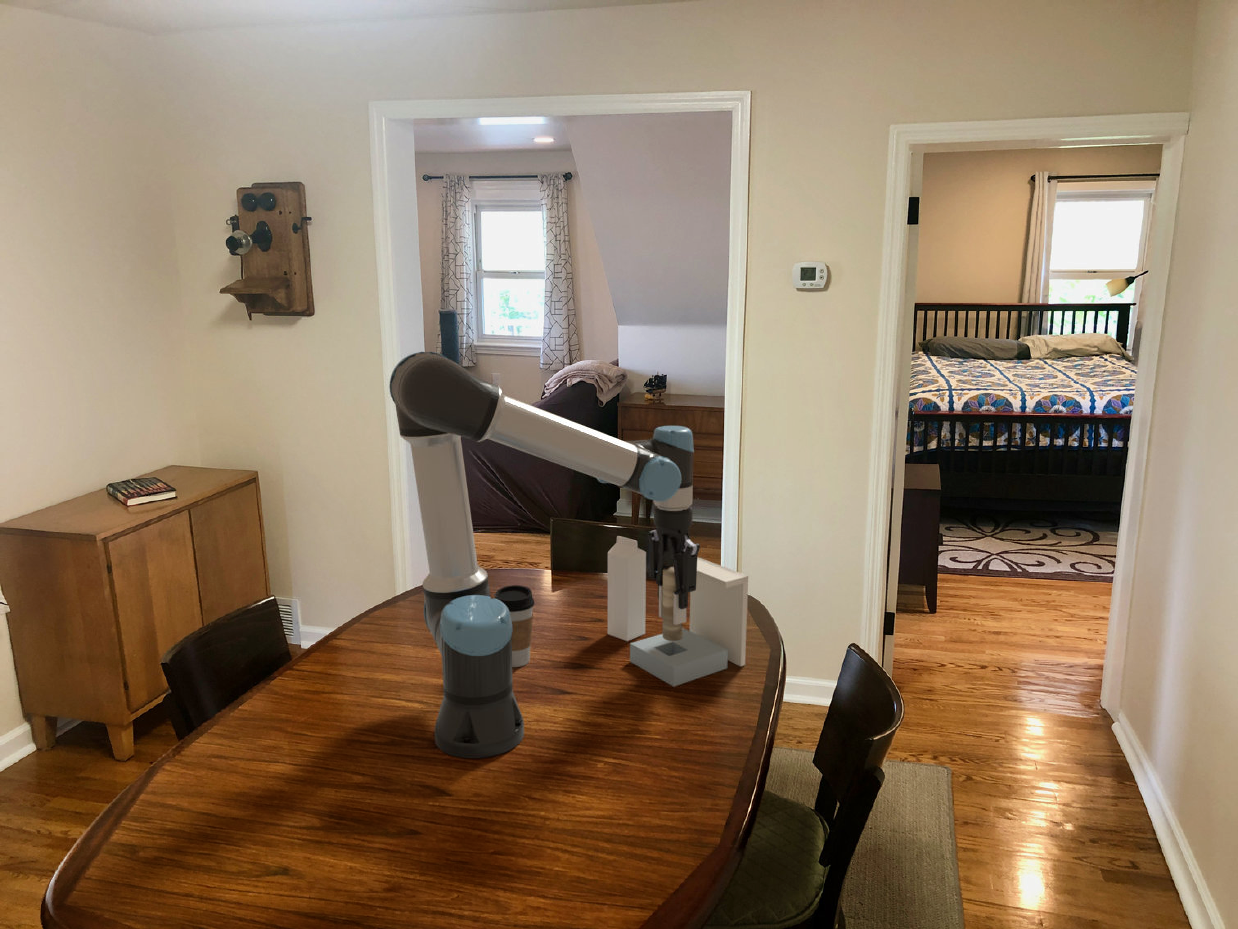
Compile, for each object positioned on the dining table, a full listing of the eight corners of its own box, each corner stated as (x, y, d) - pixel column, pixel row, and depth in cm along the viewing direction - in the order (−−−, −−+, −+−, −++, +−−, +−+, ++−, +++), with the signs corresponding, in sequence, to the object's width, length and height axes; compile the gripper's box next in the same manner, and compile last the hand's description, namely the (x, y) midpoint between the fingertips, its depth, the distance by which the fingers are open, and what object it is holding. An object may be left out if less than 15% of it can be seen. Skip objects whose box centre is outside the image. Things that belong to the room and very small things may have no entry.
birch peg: (671, 642, 176) (671, 575, 173) (658, 636, 179) (658, 569, 176) (686, 637, 178) (687, 571, 175) (673, 631, 181) (674, 565, 178)
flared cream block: (723, 672, 178) (725, 582, 174) (672, 646, 190) (673, 561, 186) (745, 665, 181) (748, 576, 177) (693, 639, 194) (695, 555, 190)
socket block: (673, 686, 171) (673, 667, 171) (630, 661, 183) (630, 643, 182) (727, 668, 180) (727, 649, 179) (682, 645, 191) (682, 627, 190)
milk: (627, 642, 193) (627, 544, 188) (607, 634, 197) (606, 538, 192) (645, 633, 197) (646, 538, 192) (625, 626, 201) (625, 532, 196)
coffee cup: (539, 653, 186) (537, 585, 183) (531, 671, 178) (529, 600, 175) (499, 651, 187) (497, 584, 184) (489, 669, 179) (487, 598, 176)
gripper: (717, 511, 168) (715, 628, 173) (660, 494, 182) (660, 602, 187) (686, 518, 164) (685, 637, 169) (631, 500, 177) (632, 610, 182)
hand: (672, 619), depth 178 cm, fingers closed on birch peg, 4 cm apart
